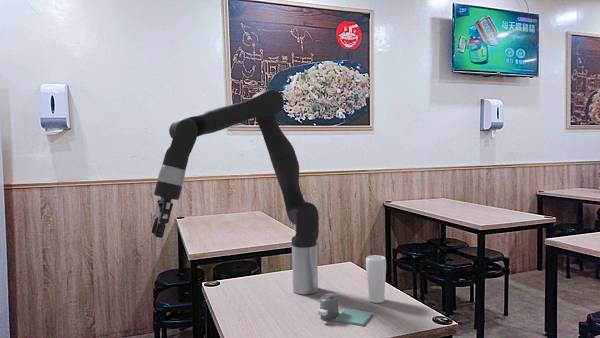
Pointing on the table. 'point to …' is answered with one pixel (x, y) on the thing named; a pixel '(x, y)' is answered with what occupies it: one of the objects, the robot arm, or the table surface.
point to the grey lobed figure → (329, 307)
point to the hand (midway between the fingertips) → (156, 235)
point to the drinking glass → (376, 277)
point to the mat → (354, 317)
